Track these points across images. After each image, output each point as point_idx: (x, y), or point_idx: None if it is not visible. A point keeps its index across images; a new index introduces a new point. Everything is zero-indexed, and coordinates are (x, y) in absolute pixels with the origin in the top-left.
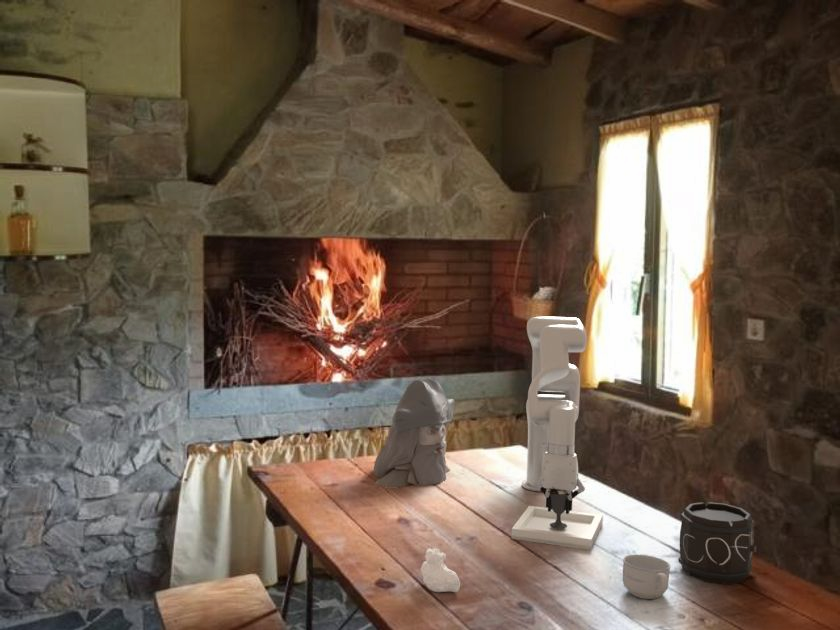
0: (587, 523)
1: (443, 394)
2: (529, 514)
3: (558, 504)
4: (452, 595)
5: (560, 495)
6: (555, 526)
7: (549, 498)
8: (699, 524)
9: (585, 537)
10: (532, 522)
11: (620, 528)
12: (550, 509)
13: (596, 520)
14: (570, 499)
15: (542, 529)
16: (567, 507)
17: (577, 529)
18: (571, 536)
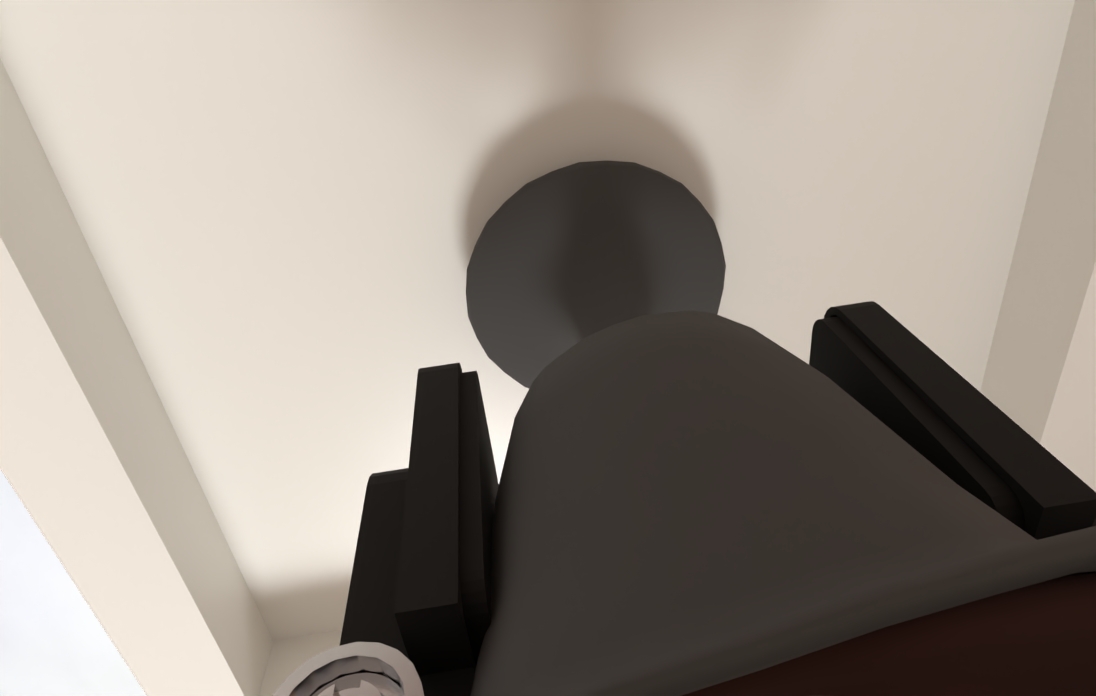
0: (330, 590)
1: None
2: (1064, 378)
3: (680, 394)
4: None
5: (717, 636)
6: (617, 191)
7: (1049, 503)
8: None
9: None
10: (957, 306)
11: (25, 676)
12: (827, 358)
13: (147, 612)
14: (342, 691)
15: (795, 105)
16: (429, 452)
17: (339, 363)
18: None
